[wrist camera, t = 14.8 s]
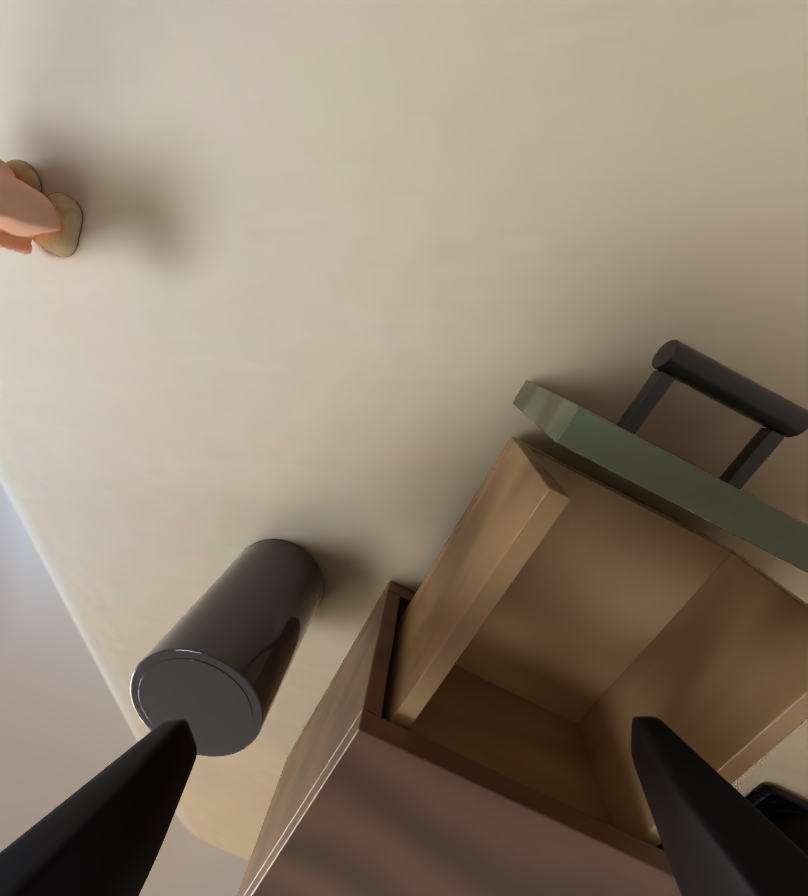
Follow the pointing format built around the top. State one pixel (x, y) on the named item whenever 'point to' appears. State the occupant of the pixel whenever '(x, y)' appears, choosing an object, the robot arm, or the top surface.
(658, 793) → the robot arm
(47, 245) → the grandmother figurine
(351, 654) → the cabinet
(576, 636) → the drawer
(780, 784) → the top surface
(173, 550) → the top surface
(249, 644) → the cup
